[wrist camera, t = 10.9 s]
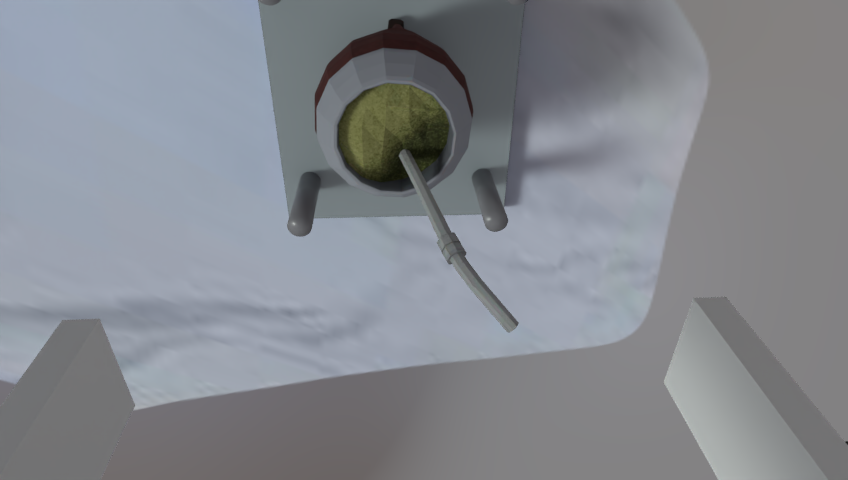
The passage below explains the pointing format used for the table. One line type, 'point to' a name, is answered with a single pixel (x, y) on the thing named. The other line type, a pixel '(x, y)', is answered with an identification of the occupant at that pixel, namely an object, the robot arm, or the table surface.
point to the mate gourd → (400, 129)
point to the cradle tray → (440, 24)
